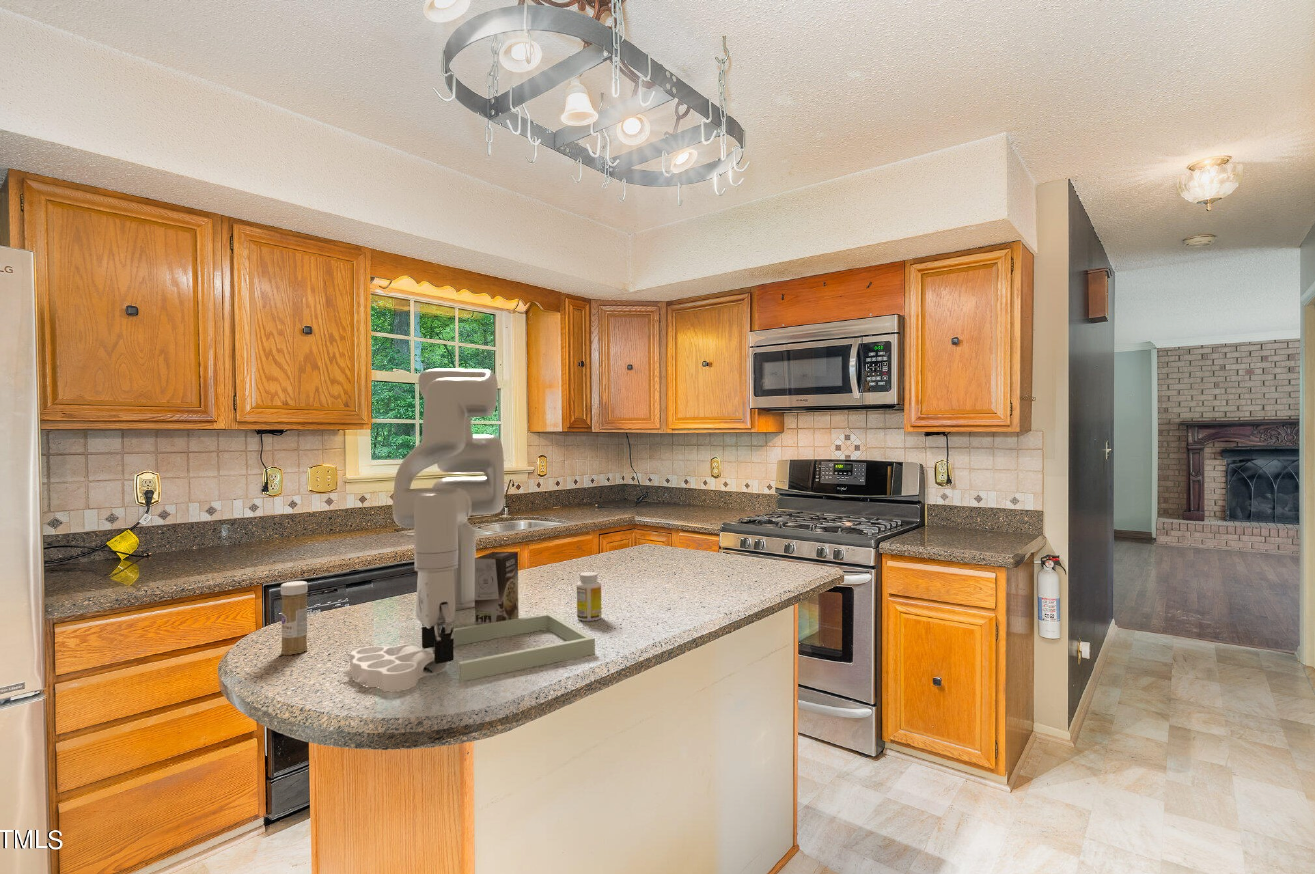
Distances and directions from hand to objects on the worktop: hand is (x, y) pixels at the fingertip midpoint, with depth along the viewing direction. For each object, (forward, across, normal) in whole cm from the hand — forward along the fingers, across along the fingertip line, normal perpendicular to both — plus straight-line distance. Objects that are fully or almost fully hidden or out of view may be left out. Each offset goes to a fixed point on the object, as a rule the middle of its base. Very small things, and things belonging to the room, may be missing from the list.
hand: (437, 654), depth 118 cm
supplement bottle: (+2, -12, +36) cm, 38 cm away
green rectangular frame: (+2, 0, +14) cm, 15 cm away
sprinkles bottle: (+2, -23, -22) cm, 32 cm away
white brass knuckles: (+3, 0, -8) cm, 8 cm away
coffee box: (+2, -16, +16) cm, 23 cm away
